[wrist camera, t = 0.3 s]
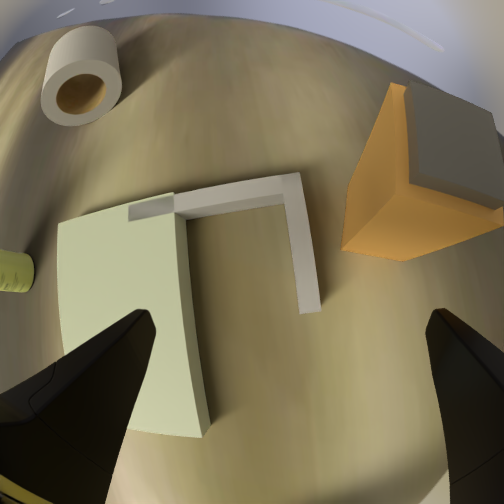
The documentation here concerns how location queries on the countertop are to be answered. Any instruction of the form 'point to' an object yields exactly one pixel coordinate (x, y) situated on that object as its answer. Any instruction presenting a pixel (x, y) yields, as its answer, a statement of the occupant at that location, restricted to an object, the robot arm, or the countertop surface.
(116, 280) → the plate with l-bracket
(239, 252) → the countertop surface
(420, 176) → the chute block
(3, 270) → the tube
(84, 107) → the toilet paper
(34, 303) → the countertop surface
